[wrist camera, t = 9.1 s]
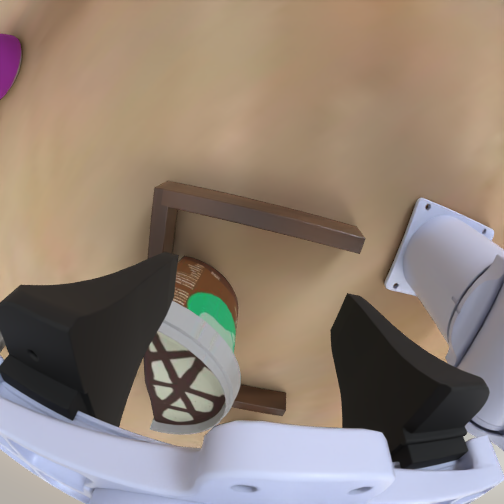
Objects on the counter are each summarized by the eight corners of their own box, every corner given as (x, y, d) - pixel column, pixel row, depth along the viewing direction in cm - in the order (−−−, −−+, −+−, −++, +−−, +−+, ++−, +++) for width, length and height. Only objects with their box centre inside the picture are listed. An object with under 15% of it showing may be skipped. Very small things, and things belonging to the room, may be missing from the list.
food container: (242, 364, 27) (227, 450, 18) (182, 352, 28) (150, 432, 18) (262, 252, 22) (250, 337, 13) (185, 238, 23) (128, 310, 13)
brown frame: (357, 226, 21) (365, 238, 19) (282, 398, 29) (282, 416, 27) (167, 180, 21) (154, 187, 19) (154, 367, 29) (146, 383, 27)
